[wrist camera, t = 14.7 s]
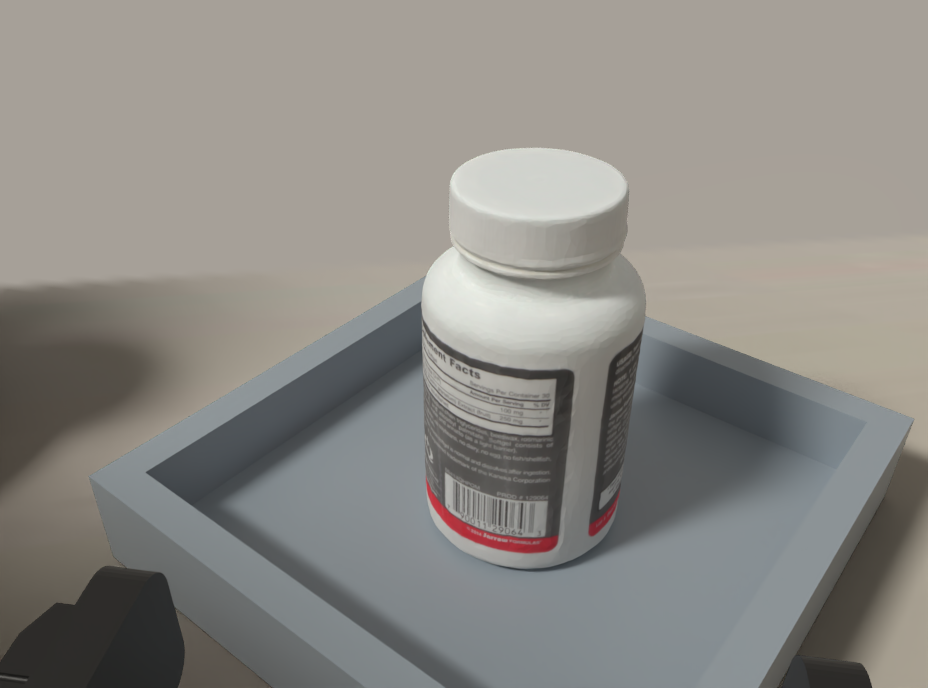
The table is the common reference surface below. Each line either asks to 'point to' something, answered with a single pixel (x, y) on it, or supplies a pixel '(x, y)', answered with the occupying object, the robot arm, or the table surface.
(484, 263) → the pill bottle
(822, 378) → the table surface
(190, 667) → the table surface
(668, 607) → the slate tray
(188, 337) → the table surface
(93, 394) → the table surface
